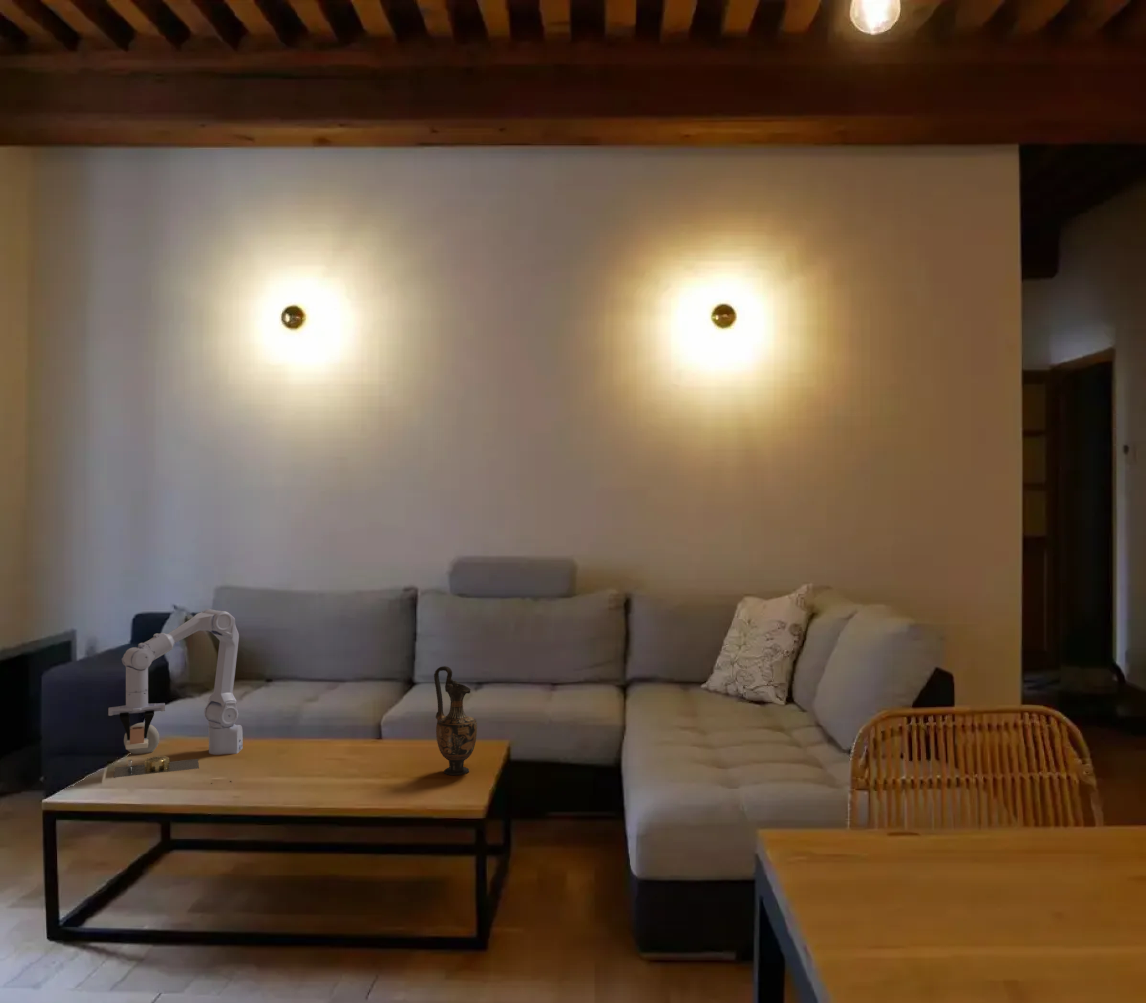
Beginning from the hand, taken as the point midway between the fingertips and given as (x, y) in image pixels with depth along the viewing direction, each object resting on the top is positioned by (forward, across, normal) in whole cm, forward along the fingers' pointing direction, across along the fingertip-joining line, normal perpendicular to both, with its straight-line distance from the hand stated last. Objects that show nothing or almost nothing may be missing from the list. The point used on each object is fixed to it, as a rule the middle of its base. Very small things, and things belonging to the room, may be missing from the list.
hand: (137, 738), depth 268 cm
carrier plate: (+10, +5, 0) cm, 11 cm away
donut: (+10, +1, +19) cm, 22 cm away
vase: (+10, +83, -34) cm, 90 cm away
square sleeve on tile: (+2, 0, 0) cm, 2 cm away
